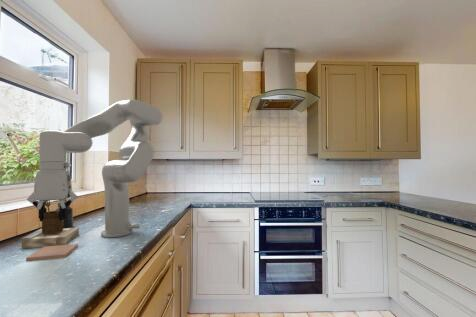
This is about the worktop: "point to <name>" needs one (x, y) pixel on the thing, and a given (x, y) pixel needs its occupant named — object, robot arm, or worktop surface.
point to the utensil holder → (51, 221)
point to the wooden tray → (49, 238)
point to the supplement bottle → (69, 219)
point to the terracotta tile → (52, 252)
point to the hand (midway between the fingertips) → (53, 219)
